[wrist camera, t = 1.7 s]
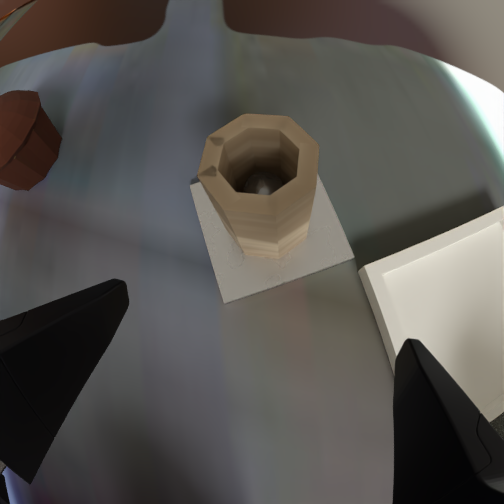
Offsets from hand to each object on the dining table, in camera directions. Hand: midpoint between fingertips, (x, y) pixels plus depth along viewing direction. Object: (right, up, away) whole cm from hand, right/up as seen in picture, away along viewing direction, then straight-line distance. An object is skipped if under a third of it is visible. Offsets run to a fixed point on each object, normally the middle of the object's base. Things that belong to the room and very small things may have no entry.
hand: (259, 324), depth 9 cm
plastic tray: (+18, -4, +11) cm, 21 cm away
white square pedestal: (+1, +5, +15) cm, 16 cm away
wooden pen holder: (+1, +5, +14) cm, 15 cm away
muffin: (-26, +13, +20) cm, 36 cm away
